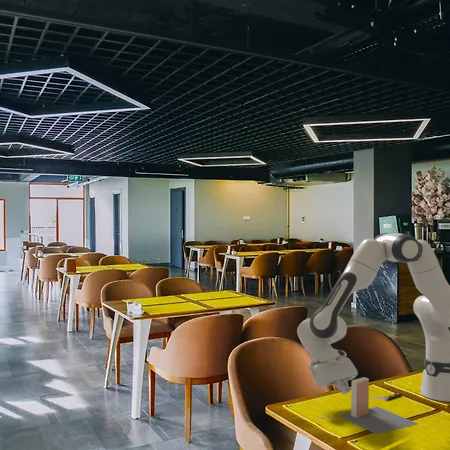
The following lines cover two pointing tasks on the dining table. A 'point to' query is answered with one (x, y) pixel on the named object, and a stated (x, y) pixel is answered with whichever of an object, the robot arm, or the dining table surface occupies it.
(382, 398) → the kitchen cleaver
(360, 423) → the mat
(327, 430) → the dining table surface
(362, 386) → the tile
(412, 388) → the dining table surface
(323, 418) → the tweezers
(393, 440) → the dining table surface
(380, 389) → the dining table surface
